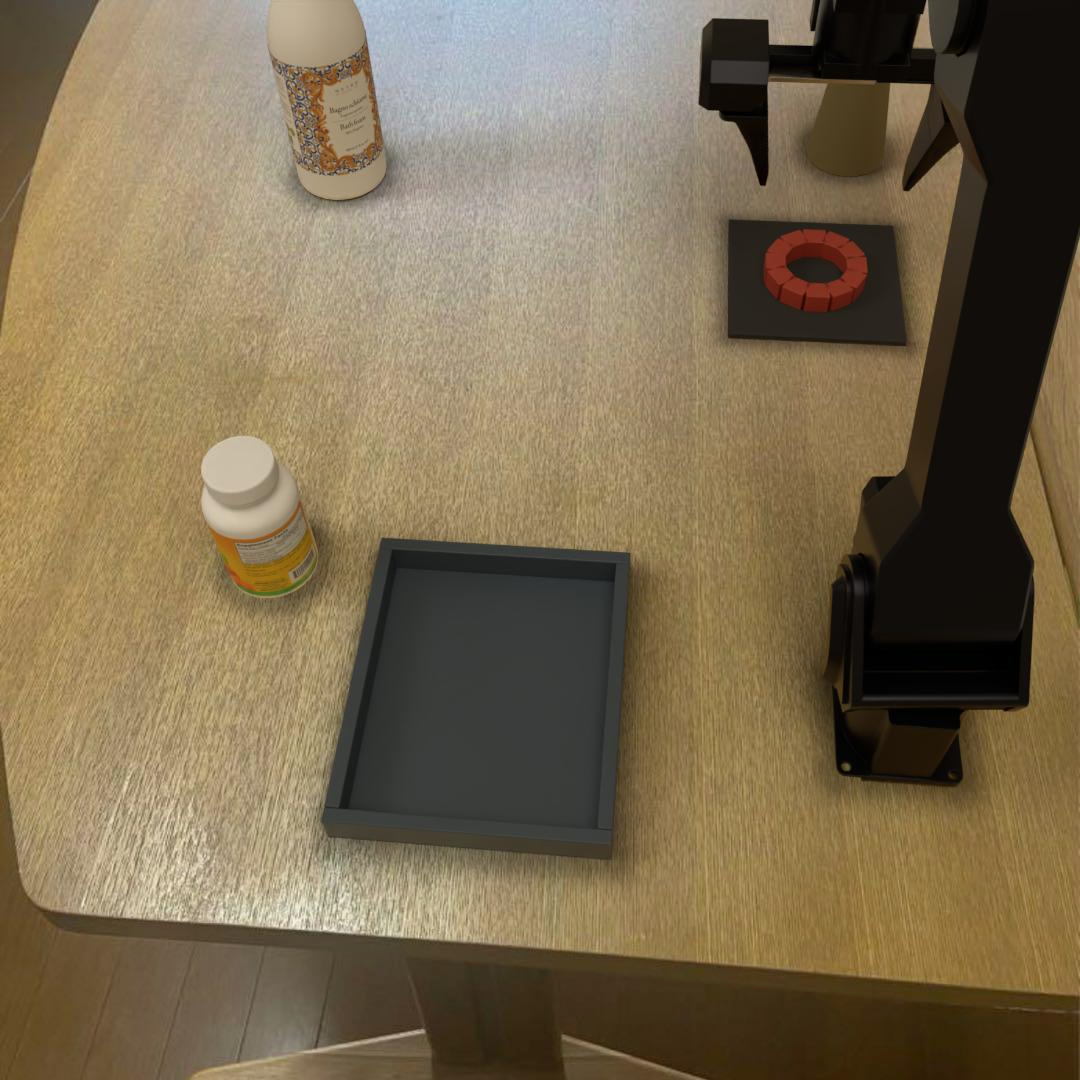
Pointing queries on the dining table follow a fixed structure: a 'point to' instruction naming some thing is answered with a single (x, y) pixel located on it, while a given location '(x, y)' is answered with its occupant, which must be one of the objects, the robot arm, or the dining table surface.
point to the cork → (850, 129)
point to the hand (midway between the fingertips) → (833, 184)
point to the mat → (768, 318)
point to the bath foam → (327, 95)
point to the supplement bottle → (257, 518)
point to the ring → (815, 294)
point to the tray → (485, 700)
